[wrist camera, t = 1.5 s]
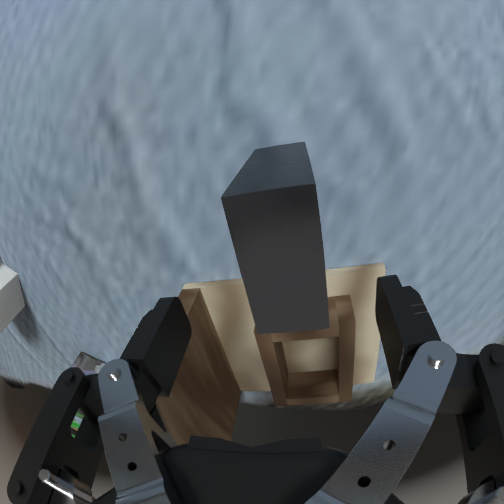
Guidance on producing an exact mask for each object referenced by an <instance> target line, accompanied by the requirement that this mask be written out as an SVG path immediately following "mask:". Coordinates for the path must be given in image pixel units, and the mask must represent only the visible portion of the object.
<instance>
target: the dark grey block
mask: <svg viewBox="0 0 504 504" xmlns="http://www.w3.org/2000/svg"><path fill="white" fill-rule="evenodd" d="M221 200H222V204H223V208H224V211H225V215H226V219H227V223H228V227H229V230H230V234H231V238H232V242H233V246H234V249H235V253H236V257H237V261H238V264H239V268H240V272H241V275H242V279H243V283H244V286H245V290H246V294H247V297H248V301H249V305H250V308H251V312H252V316H253V319H254V323H255V326H256V330H257V334H269V333H284V332H296V331H308V330H318V329H328V328H330V327H329V310H328V296H327V283H326V272H325V261H324V251H323V241H322V232H321V223H320V215H319V207H318V200H317V192H316V185H315V180H314V176H313V172H312V168H311V164H310V160H309V156H308V152H307V149H306V145H305V142H299V143H292V144H285V145H279V146H273V147H267V148H261V149H255V151H254V152H253V153H252V155H251V156H250V157H249V159H248V160H247V161H246V163H245V164H244V166H243V167H242V168H241V170H240V171H239V173H238V174H237V175H236V177H235V178H234V180H233V181H232V182H231V184H230V185H229V187H228V188H227V189H226V191H225V192H224V194H223V195H222V197H221Z"/></svg>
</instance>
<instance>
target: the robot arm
mask: <svg viewBox="0 0 504 504" xmlns="http://www.w3.org/2000/svg"><path fill="white" fill-rule="evenodd" d="M375 316H376V322H377V326H378V330H379V334H380V337H381V341H382V345H383V349H384V353H385V357H386V361H387V365H388V369H389V373H390V378H391V382H392V387H393V389H397V390H396V391H395V393H394V395H393V396H392V397H389V398H388V400H387V401H386V402H385V404H384V405H383V407H382V408H381V410H380V412H379V413H378V415H377V416H376V418H375V419H374V421H373V422H372V424H371V425H370V427H369V428H368V430H367V431H366V432H365V434H364V435H363V437H362V438H361V439H360V441H359V442H358V444H357V445H356V446H355V448H354V449H353V450H352V452H351V453H350V454H347V453H345V452H343V451H340V450H338V449H335V448H332V447H327V446H321V438H310V439H289V440H283V441H279V442H274V443H270V444H265V445H261V446H255V447H249V446H245V445H241V444H238V443H235V442H231V441H228V440H225V439H222V438H214V437H203V436H194V435H191V436H190V439H189V443H186V444H182V445H177V444H176V442H175V441H174V439H173V437H172V435H171V433H170V431H169V429H168V426H167V424H166V422H165V419H164V417H163V415H162V412H161V410H160V407H159V405H158V404H157V402H156V400H157V398H158V396H160V397H169V395H170V393H171V390H172V387H173V384H174V382H175V379H176V376H177V373H178V371H179V368H180V365H181V363H182V360H183V357H184V355H185V352H186V349H187V347H188V344H189V341H190V339H191V335H192V328H191V324H190V321H189V319H188V317H187V314H186V312H185V310H184V307H183V305H182V303H181V301H180V299H179V298H178V297H166V298H160V299H159V300H158V302H157V304H156V306H155V307H154V309H153V310H150V311H149V312H148V313H147V314H146V315H145V316H144V317H143V318H142V320H141V321H140V323H139V325H138V328H136V330H135V332H134V335H133V336H132V337H131V339H130V341H129V343H128V344H127V346H126V348H125V350H124V352H123V353H122V355H121V357H120V359H115V360H112V361H109V362H108V363H106V364H105V365H104V366H103V367H102V368H101V370H100V371H99V373H96V374H91V375H85V374H84V373H83V371H82V370H81V369H80V368H78V367H71V368H69V369H67V370H65V371H64V372H63V373H62V374H61V375H60V376H59V378H58V380H57V381H56V383H55V385H54V387H53V389H52V391H51V393H50V394H49V396H48V398H47V400H46V402H45V404H44V406H43V407H42V409H41V412H40V413H39V415H38V417H37V420H36V421H35V423H34V425H33V428H32V430H31V432H30V434H29V436H28V438H27V440H26V442H25V445H24V447H23V449H22V451H21V453H20V456H19V458H18V461H17V463H16V465H15V467H14V470H13V472H12V475H11V477H10V480H9V482H8V486H7V494H8V497H9V499H10V501H11V502H12V503H13V504H404V503H403V502H402V501H401V500H399V499H398V498H397V497H396V496H395V495H394V494H393V493H392V491H393V490H394V488H395V487H396V485H397V484H398V482H399V481H400V479H401V477H402V476H403V475H404V473H405V471H406V470H407V468H408V466H409V465H410V463H411V462H412V460H413V458H414V456H415V454H416V453H417V451H418V449H419V447H420V446H421V444H422V442H423V440H424V438H425V436H426V434H427V432H428V430H429V428H430V426H431V424H432V422H433V420H434V418H435V414H436V413H450V414H451V413H452V414H453V413H454V414H456V418H457V423H458V428H459V433H460V439H461V444H462V450H463V457H464V463H465V470H466V480H467V490H468V494H467V495H466V496H464V497H463V498H462V499H461V500H460V502H459V503H458V504H504V346H503V345H500V344H489V345H487V346H485V347H484V348H483V349H482V350H481V352H480V354H479V355H469V354H458V353H455V351H454V349H453V348H452V347H451V346H450V345H449V344H447V343H445V342H442V341H441V339H440V337H439V335H438V332H437V330H436V328H435V326H434V324H433V321H432V319H431V317H430V315H429V313H428V312H427V309H426V307H425V304H424V302H423V300H422V298H421V296H420V294H419V293H418V292H417V291H416V290H414V289H413V288H412V287H411V286H405V287H402V285H401V283H400V281H399V279H398V277H397V275H389V276H382V277H377V283H376V303H375ZM78 410H79V411H80V412H81V413H82V414H83V415H84V417H83V419H82V421H81V424H80V426H79V428H78V431H77V433H76V435H75V438H74V437H73V436H72V435H71V432H70V427H71V424H72V422H73V420H74V417H75V415H76V413H77V411H78ZM104 450H105V454H106V458H107V462H108V465H109V469H110V473H111V476H112V479H113V483H114V486H115V487H114V488H113V489H111V490H110V491H108V492H107V493H105V494H103V495H102V496H101V497H99V498H97V499H95V498H94V497H93V496H92V491H91V488H92V485H93V482H94V478H95V475H96V472H97V469H98V466H99V463H100V460H101V458H102V454H103V452H104Z"/></svg>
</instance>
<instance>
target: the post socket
mask: <svg viewBox="0 0 504 504" xmlns="http://www.w3.org/2000/svg"><path fill="white" fill-rule="evenodd" d="M325 272H326V283H327V296H328V310H329V327H330V328H328V329H318V330H308V331H296V332H284V333H269V334H257V330H256V326H255V323H254V319H253V316H252V312H251V308H250V305H249V301H248V297H247V294H246V290H245V286H244V283H243V279H232V280H222V281H211V282H199V283H188V284H185V285H184V287H183V289H182V291H181V293H180V295H179V296H178V298H179V299H180V301H181V303H182V305H183V307H184V310H185V312H186V314H187V317H188V319H189V321H190V324H191V328H192V335H191V339H190V341H189V344H188V347H187V349H186V352H185V355H184V357H183V360H182V363H181V365H180V368H179V371H178V373H177V376H176V379H175V382H174V384H173V387H172V390H171V393H170V395H169V397H160V396H158V398H157V400H156V402H157V404H158V405H159V407H160V410H161V412H162V415H163V417H164V419H165V422H166V424H167V426H168V429H169V431H170V433H171V435H172V437H173V439H174V441H175V442H176V444H177V445H182V444H186V443H189V439H190V436H191V435H194V436H203V437H214V438H222V439H225V440H228V441H231V439H232V434H233V429H234V424H235V419H236V415H237V409H238V405H239V400H240V395H241V391H271V392H272V396H273V399H274V402H275V406H287V405H308V404H322V403H333V402H343V401H351V398H352V387H353V385H356V384H364V383H371V382H374V378H375V372H376V365H377V358H378V351H379V343H380V334H379V330H378V326H377V322H376V316H375V303H376V283H377V277H382V276H385V266H384V264H383V263H377V264H369V265H361V266H353V267H344V268H336V269H327V270H325Z"/></svg>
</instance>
